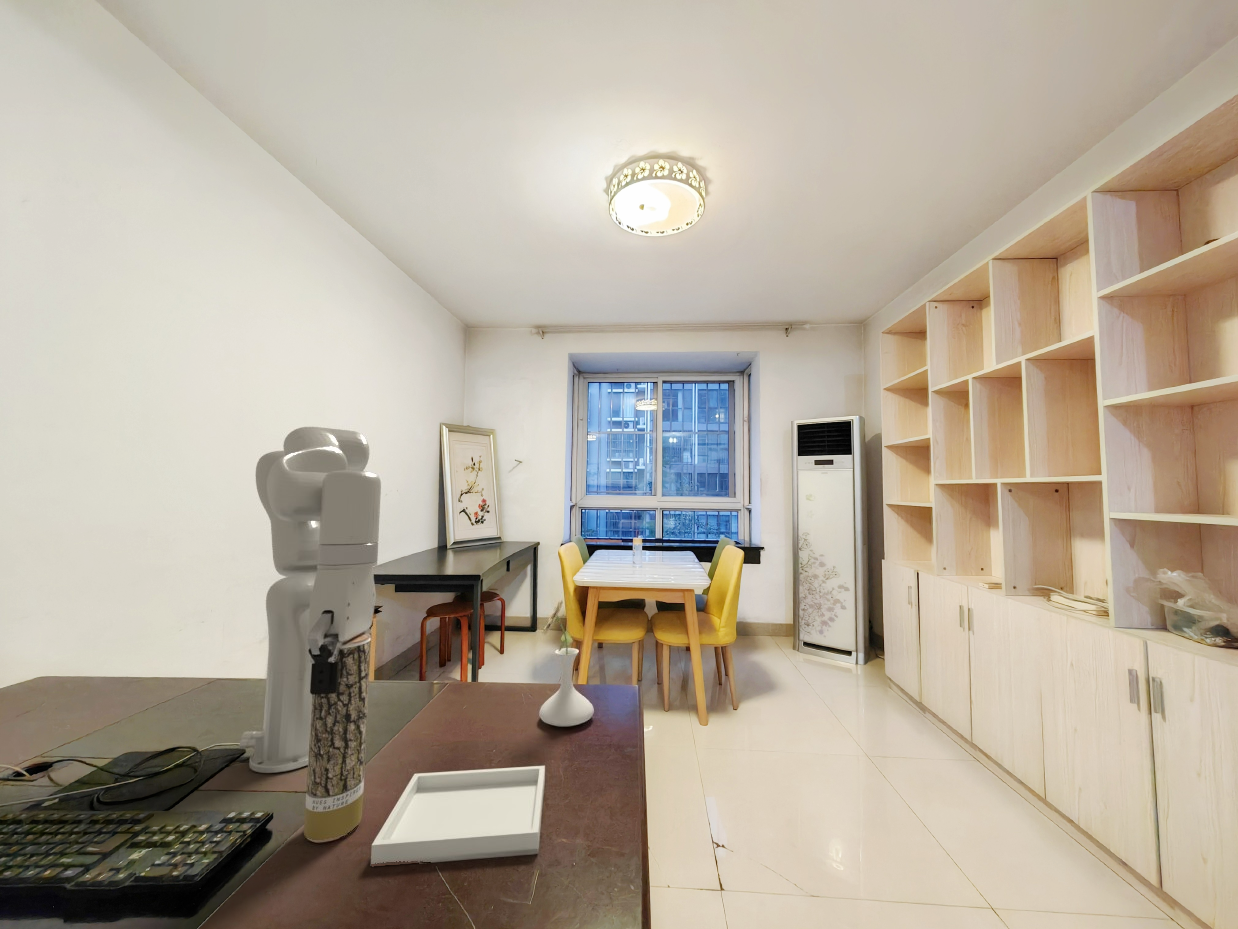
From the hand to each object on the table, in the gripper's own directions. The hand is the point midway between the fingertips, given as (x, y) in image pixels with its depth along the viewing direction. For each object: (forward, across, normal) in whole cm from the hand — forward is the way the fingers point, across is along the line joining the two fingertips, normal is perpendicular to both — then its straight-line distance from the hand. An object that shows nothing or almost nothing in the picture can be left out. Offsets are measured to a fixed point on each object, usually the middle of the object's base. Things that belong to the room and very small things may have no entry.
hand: (341, 680), depth 66 cm
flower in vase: (+20, -30, +31) cm, 47 cm away
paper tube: (+20, 0, 0) cm, 20 cm away
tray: (+19, 0, +18) cm, 26 cm away
